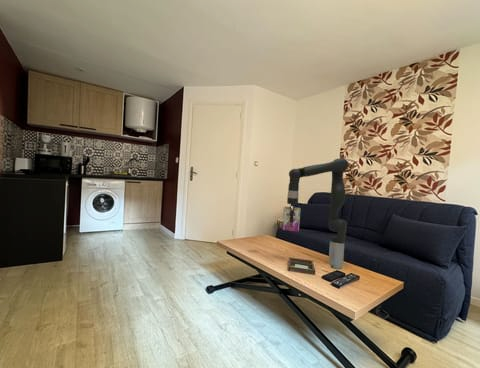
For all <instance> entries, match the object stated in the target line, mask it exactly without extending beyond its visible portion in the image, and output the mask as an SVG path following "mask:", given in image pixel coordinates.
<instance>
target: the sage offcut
mask: <svg viewBox="0 0 480 368" xmlns="http://www.w3.org/2000/svg"><path fill="white" fill-rule="evenodd" d="M294 267H298V268H305V269H309V268H308V266H304V265H298V264H295V266H294Z"/></svg>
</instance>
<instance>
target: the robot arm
mask: <svg viewBox="0 0 480 368" xmlns="http://www.w3.org/2000/svg"><path fill="white" fill-rule="evenodd" d="M348 168H349V161H348V159H346V158H344V157H343V158H342V157H340V158H336V159H333V161H329V162H326V163H321V164H313V165H307V166H303V167H300V168H293V169H290V170H289V172H288V176H289V183H288V189H287V190H288V191H287V201H286V204H287V205H290V206H288V207H289V209H290V212H289V213H290V216H291V217H290V222H293V217H294V213H295V210H294V208H296V205H298V204H299V194H300V193H299V190H300V188H299V187H300V186H299V185H300V180H301V178H305V177H307V178H308V177H312V176H313V177H314V176H316V175H320V174H321V175H322V174H325V173H331V188H330V189H331V190H330V211H329V218H328V230H329V231H332V232H334V233H337V234H336V235H331V236H330V239H329V252H328V253H329V254H328V265H329V266H330V268H332V269H337V270H341V269H342V270H343V268H344V258H345V257H344V256H345V254H344V252H345V243H346V242H345V241H346V236H347V228H348V224H347V221H346V220H345V219H341V218H338V213H339V210H340V209H341V208H342V206H343V205H344V203H345V201H346V186H345V183H344V171H346V170H347V169H348ZM291 213H293V214H291Z"/></svg>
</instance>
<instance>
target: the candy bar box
mask: <svg viewBox="0 0 480 368" xmlns="http://www.w3.org/2000/svg"><path fill="white" fill-rule="evenodd" d="M289 207H290V206H283V216H282V226H281V230H282V231H289V232H296V233H298V232H299V231H300V221H301V219H300V218H301V208H300V207H295V208H294V210H295V213H294V217H293V222H290V217H291V216H290V213H289V212H290V209H289ZM291 214H293V213H291Z"/></svg>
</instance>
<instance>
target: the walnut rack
mask: <svg viewBox="0 0 480 368" xmlns="http://www.w3.org/2000/svg"><path fill="white" fill-rule="evenodd" d="M295 264H298V265H304V266H308V269H305V268H298V267H295ZM287 268H288V269H287V272H292V273H293V272H294V273H299V274H304V275H305V274H306V275H310V276H311V275H312V276H315V275H316V269H315V265H314V260H311V259H303V258H295V257H288V267H287Z"/></svg>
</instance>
